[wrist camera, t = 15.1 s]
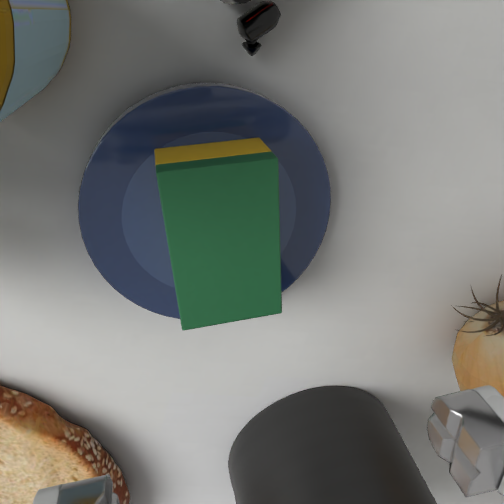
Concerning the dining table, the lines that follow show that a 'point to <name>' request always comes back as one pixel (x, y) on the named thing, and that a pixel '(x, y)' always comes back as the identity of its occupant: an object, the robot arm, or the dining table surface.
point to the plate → (147, 192)
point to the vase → (325, 453)
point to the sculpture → (481, 348)
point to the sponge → (222, 229)
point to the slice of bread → (46, 451)
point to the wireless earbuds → (256, 23)
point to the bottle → (30, 48)
